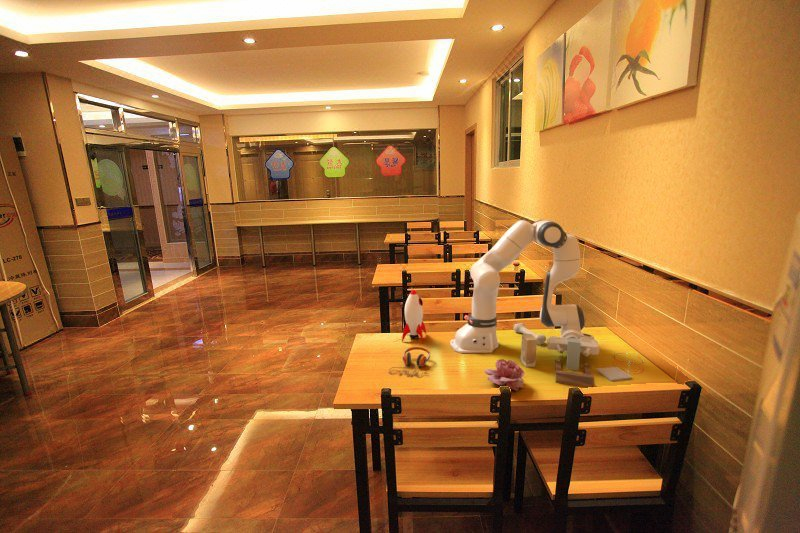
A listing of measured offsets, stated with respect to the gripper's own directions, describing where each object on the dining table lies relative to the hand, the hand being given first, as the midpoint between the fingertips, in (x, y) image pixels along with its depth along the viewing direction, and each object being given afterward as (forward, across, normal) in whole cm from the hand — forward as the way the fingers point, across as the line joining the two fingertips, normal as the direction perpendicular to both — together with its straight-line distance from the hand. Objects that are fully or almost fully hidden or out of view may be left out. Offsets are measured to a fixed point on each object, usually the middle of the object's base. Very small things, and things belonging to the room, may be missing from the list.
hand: (573, 353), depth 164 cm
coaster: (+2, +15, +6) cm, 16 cm away
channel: (+6, 0, +7) cm, 9 cm away
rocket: (-11, -72, +7) cm, 73 cm away
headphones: (+18, -63, +7) cm, 66 cm away
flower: (+23, -25, +7) cm, 34 cm away
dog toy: (-28, -18, +7) cm, 34 cm away
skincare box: (+2, -17, +7) cm, 19 cm away
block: (0, 0, +6) cm, 7 cm away
